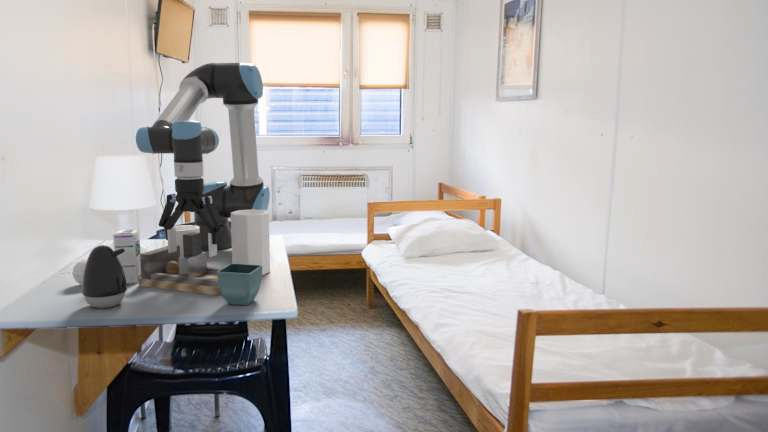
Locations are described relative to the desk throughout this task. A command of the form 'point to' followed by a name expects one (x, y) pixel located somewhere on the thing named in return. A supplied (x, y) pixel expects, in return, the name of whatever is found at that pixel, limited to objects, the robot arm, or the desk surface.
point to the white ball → (79, 271)
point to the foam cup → (184, 230)
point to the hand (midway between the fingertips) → (192, 253)
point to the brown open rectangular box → (158, 278)
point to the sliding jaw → (192, 256)
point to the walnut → (172, 267)
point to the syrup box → (129, 253)
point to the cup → (251, 238)
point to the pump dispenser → (104, 278)
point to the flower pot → (240, 283)
